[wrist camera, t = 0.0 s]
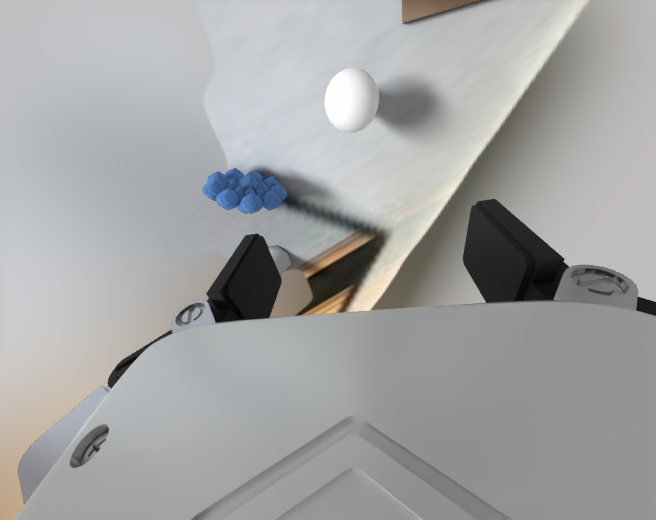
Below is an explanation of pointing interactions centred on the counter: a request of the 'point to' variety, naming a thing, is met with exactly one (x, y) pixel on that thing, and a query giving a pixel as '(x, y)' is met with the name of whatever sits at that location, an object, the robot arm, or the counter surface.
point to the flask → (280, 258)
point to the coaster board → (429, 7)
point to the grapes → (244, 191)
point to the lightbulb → (352, 100)
